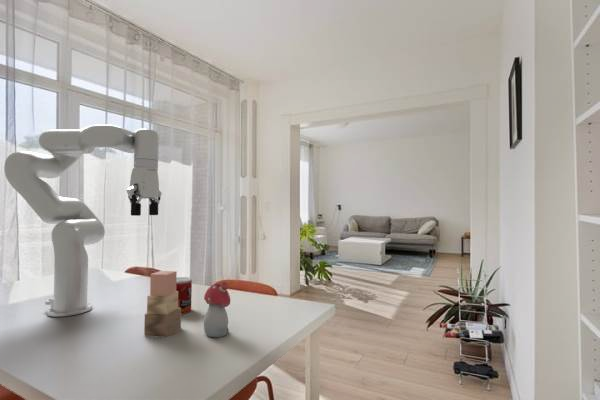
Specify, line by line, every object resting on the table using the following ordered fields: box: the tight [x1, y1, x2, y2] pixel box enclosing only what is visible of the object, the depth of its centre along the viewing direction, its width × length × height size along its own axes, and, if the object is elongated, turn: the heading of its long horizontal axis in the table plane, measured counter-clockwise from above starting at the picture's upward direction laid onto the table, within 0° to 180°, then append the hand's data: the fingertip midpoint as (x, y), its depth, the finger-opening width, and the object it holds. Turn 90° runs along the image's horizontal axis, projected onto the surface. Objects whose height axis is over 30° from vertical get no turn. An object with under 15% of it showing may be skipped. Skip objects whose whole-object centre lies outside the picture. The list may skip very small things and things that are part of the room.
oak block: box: [146, 291, 178, 315], centre depth 92 cm, size 6×6×5 cm
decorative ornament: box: [203, 281, 231, 338], centre depth 90 cm, size 9×7×15 cm
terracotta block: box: [149, 270, 177, 296], centre depth 92 cm, size 5×5×6 cm
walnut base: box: [143, 308, 182, 338], centre depth 92 cm, size 7×7×6 cm
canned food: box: [176, 276, 193, 315], centre depth 110 cm, size 8×8×11 cm
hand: (145, 215), depth 109 cm, fingers open, 9 cm apart
